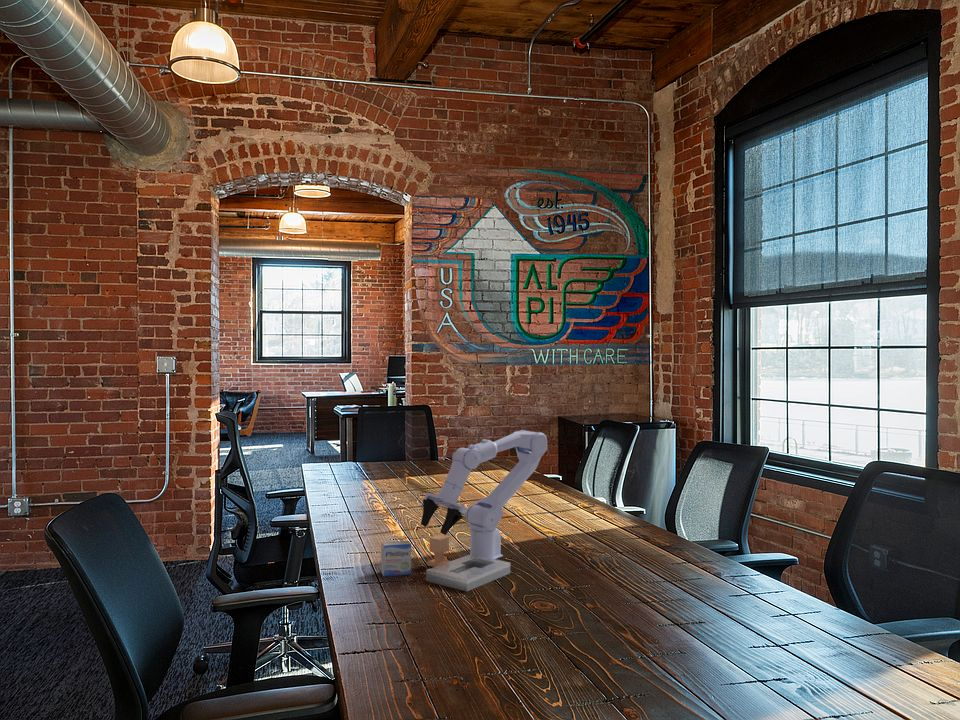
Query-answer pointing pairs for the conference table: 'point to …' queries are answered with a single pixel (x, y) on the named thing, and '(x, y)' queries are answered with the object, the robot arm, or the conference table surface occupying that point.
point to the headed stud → (438, 550)
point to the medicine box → (396, 558)
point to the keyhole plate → (468, 572)
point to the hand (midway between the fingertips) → (432, 529)
